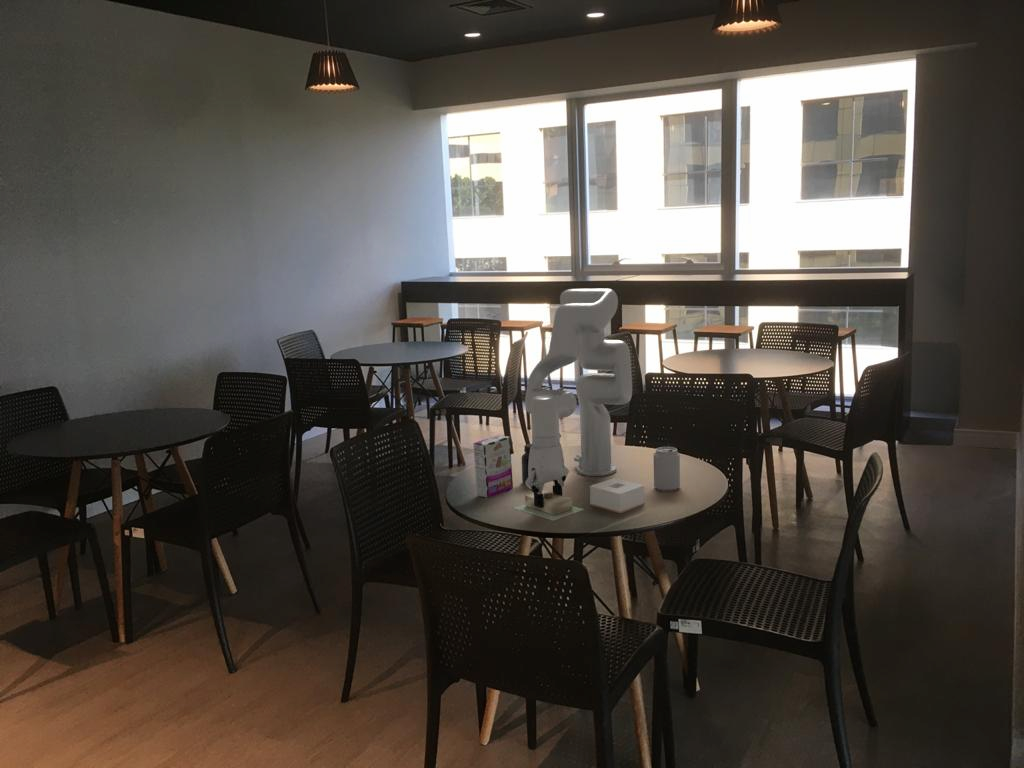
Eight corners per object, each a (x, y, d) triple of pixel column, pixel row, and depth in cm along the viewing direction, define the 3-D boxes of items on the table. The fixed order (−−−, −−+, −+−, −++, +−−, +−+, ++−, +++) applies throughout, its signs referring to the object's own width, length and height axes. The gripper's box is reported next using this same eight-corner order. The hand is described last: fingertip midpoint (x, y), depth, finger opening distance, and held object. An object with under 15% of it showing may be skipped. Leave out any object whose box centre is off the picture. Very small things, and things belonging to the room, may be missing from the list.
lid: (525, 505, 234) (524, 492, 234) (542, 500, 239) (541, 486, 238) (555, 515, 226) (555, 501, 225) (572, 509, 230) (572, 495, 229)
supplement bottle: (542, 486, 254) (541, 448, 252) (520, 486, 255) (519, 448, 253) (546, 480, 261) (544, 442, 259) (524, 479, 262) (522, 442, 260)
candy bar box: (501, 486, 256) (498, 434, 253) (513, 489, 253) (511, 436, 250) (475, 496, 248) (472, 442, 245) (487, 499, 245) (484, 444, 242)
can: (679, 492, 243) (679, 452, 241) (653, 491, 244) (652, 452, 242) (680, 484, 250) (679, 445, 248) (654, 484, 252) (653, 445, 249)
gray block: (590, 506, 234) (589, 486, 233) (614, 498, 240) (613, 478, 239) (620, 515, 226) (620, 493, 224) (644, 506, 232) (644, 485, 231)
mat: (513, 509, 234) (512, 507, 234) (543, 499, 242) (543, 497, 242) (553, 522, 222) (553, 520, 222) (584, 511, 230) (584, 509, 230)
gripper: (558, 432, 237) (561, 493, 240) (513, 445, 226) (516, 508, 229) (578, 436, 231) (580, 498, 235) (532, 449, 220) (535, 514, 224)
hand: (548, 502), depth 232 cm, fingers closed on lid, 6 cm apart
